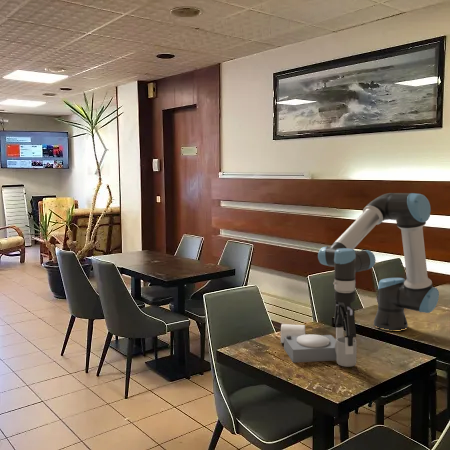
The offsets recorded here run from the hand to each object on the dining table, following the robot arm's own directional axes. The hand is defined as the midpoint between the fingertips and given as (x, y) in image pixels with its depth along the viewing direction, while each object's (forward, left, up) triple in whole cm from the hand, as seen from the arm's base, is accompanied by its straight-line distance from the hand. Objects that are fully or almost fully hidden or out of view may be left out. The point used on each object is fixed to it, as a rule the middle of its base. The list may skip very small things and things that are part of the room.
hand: (344, 348), depth 182 cm
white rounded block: (+12, -29, -7) cm, 32 cm away
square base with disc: (+8, -13, -6) cm, 17 cm away
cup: (0, 0, -5) cm, 5 cm away
